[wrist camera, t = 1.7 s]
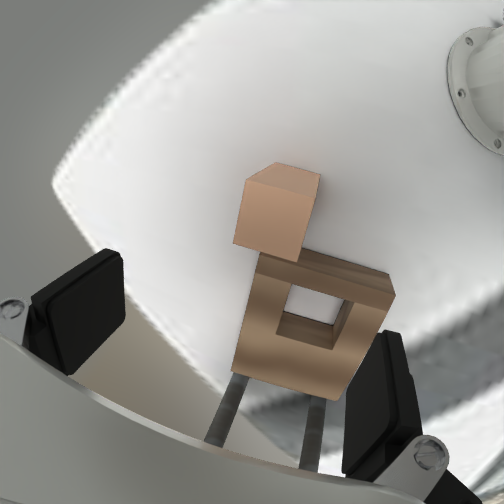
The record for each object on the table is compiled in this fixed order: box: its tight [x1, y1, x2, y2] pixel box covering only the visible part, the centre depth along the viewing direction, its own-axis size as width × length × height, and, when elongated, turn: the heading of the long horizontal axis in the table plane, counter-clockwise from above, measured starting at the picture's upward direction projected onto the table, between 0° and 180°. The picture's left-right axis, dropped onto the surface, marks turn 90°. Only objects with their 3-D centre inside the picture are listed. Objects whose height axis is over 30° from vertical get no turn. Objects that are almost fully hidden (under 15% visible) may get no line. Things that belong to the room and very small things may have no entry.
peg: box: [233, 162, 320, 262], centre depth 22 cm, size 4×4×10 cm
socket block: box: [203, 248, 396, 473], centre depth 22 cm, size 20×12×23 cm, turn 167°
